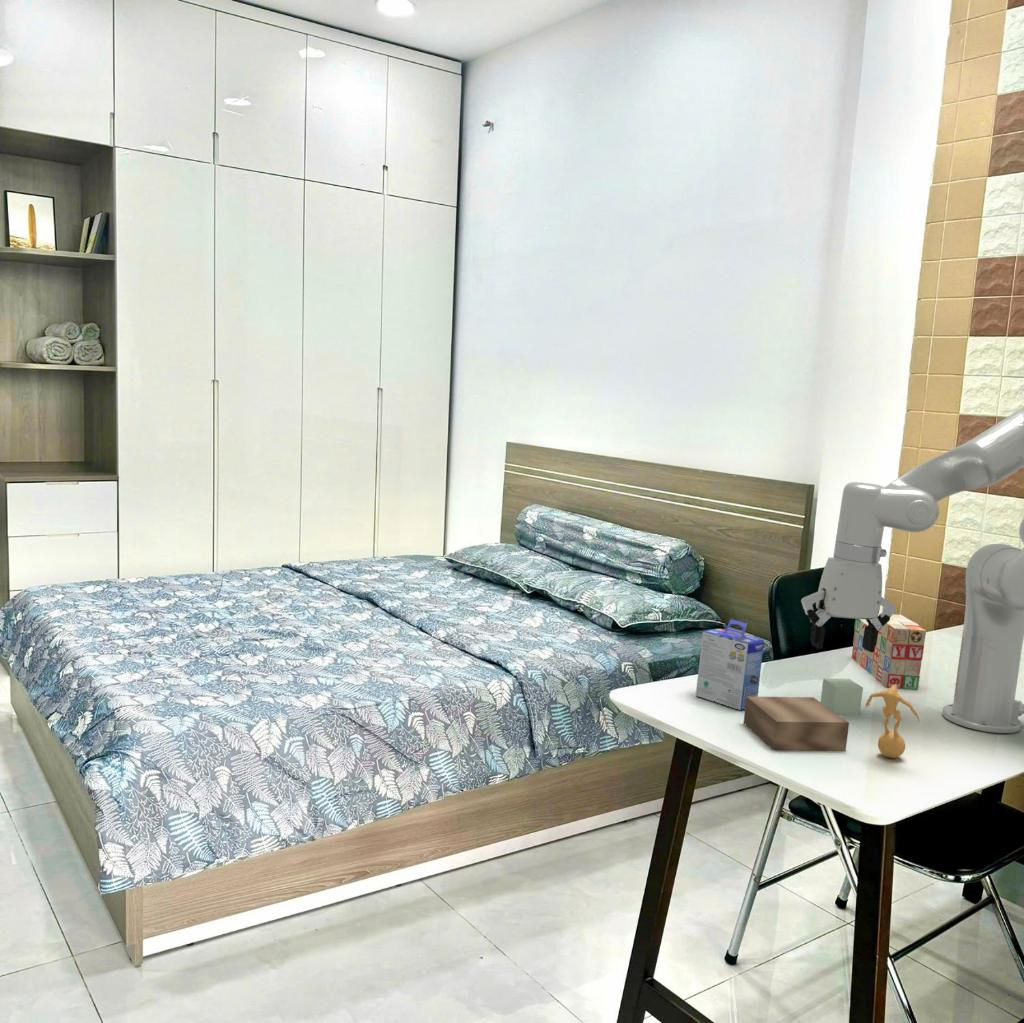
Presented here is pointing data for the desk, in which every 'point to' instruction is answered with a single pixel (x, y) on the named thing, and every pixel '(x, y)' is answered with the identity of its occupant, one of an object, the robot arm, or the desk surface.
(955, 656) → the desk surface
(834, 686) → the sage cube
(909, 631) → the stack of blocks
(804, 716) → the walnut block
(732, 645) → the ink cartridge box
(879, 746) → the figurine
